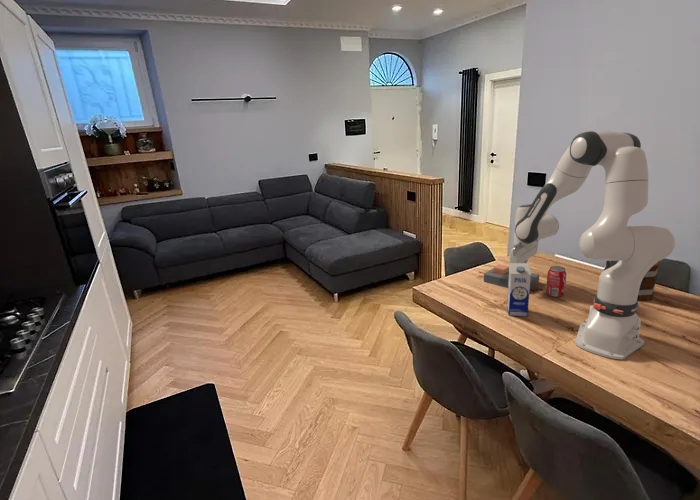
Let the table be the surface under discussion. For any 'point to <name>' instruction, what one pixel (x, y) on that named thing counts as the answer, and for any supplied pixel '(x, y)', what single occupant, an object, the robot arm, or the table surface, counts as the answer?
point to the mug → (645, 282)
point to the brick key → (501, 269)
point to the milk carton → (518, 289)
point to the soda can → (556, 281)
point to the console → (506, 279)
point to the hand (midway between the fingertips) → (522, 268)
